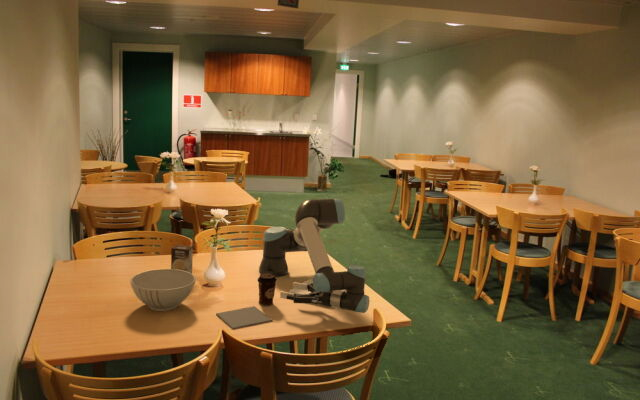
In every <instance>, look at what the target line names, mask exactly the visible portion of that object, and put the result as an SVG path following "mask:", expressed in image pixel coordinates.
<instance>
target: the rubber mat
mask: <svg viewBox="0 0 640 400" xmlns="http://www.w3.org/2000/svg"><path fill="white" fill-rule="evenodd" d="M215 316H217V317H218V318H219V319H220V320H221V321H223V322H224V323H225V324H226V325H227V326H228V327H229V328H231V330H236V329H241V328H244V327H250V326H256V325H259V324H260V325H261V324H265V323H269V321H270V322H273V319H272V318H271V317H270V316H268V315H267V314H265V312H264V311H261V310H260V309H259V308H258V307H256V306H248V307H247V306H246V307H244V308H239V309H233V310H227V311H222V312H216V313H215ZM264 322H265V323H264Z"/></svg>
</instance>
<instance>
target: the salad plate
mask: <svg viewBox="0 0 640 400" xmlns="http://www.w3.org/2000/svg"><path fill="white" fill-rule="evenodd" d="M311 283H313V279H307V280H305V281H304V282H302V284H307V285H308V284H311ZM341 291H346V290H341ZM289 293H293V294H294V293H295V294H296V295H302V294H309V293H311V292H310V291H308V289H307V291H306V290H300V289H295V288H292V289H290V290H289ZM320 302H321V301H317V303H320ZM321 304H322V302H321Z"/></svg>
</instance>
